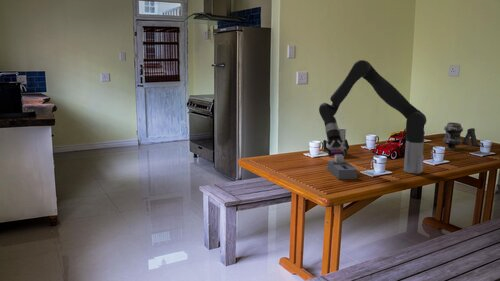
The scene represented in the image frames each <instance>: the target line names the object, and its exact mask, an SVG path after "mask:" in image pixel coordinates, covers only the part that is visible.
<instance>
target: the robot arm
mask: <svg viewBox="0 0 500 281" xmlns="http://www.w3.org/2000/svg"><path fill="white" fill-rule="evenodd" d="M361 78H363V79H364V80H366V82H367V83H369V85H370V86H371V87H372V88H373V90H374V92H375V93H376V94H377V95H378V97H379V98H380V99H381V100H382V101H383V102H384V103H386V104H387V105H388V106H390V107H391V108H393V109H394V110H396V111H397V112H399V113H400V114H401V115H402V116H403V117H404V118H405V119H406V123H405V150H404V162H403V172H405V173H408V174H419V175H420V174H421V173H422V172H423V169H424V158H425V155H424V146H425V145H424V143H425V125H426V124H427V117H426V115H425V114H424V113H423V112H422V111H420V110H419V109H418V108H417V107H415V106H414V105H413V104H412V103H411V102H410V101H408V100H407V98H406V97H405V96H404V95H403V94H402V93H401V92H400V90H398V89H397V88H396V87H395V86H394V85H393V84H392V83H390V82H389V81H388V80H387V79H385V77H383V76H381V74H379V72H378V71H377V70H376V69H375V68H374V67H373V66H372V64H371V63H370V62H369V61H368V60H365V59H361V60H360V59H359V60H357V61H356V62H354V63H353V65H352V67H351V68H350V70H349V72H348V74H347V76H345V79H344V80H343V81H342V83H340V85H339V86H338V87H337V89H336V90H335V91H334V93H333V94H332V95H331V96H330V98H329V100H330V102H331V104H329V103H327V102H323V103H320V105H319V107H318V113H319V114H320V116H321V119H322V121H323V123H324V129H325V134H326V138H327V139H328V141H327V139H324V140H323V142H322V145H323V146H322V147H323V151H324V152H326V153H327V152H328V153H327V155H328V157H329V158H332V156H333V154H332V153H331V150H330V149H331V148H340V149H342V150H343V153H342V154H343V156H344V157H345V158H346V157H347V156H348V151H349V150H350V147H349V143H348V140H347V139H346V138H345V140H343V141H342V140H341V136H340V132H339V128H340V127H339V126H338V123H337V119H336V117H335V115H336V114H337V112H338V110H339V109H340V108H339V107H340V105H341V104H342V103H343V102H344V100H346V98H347V96H348V95H349V94H350V92H351V91H352V88H353V87H354V85H355V84H356V83H357V82H358V81H359V80H360V79H361ZM327 143H328V144H329V145H330V146H329V148H327ZM342 143H343V144H344V145H345V146H344V145H343V144H342ZM340 145H341V146H340Z"/></svg>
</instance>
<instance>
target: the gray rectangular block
mask: <svg viewBox="0 0 500 281" xmlns="http://www.w3.org/2000/svg"><path fill="white" fill-rule="evenodd" d="M333 159H334V160H333V161H334V163H335V164H343V162H344V154H343V153H342V154H334V158H333Z"/></svg>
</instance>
